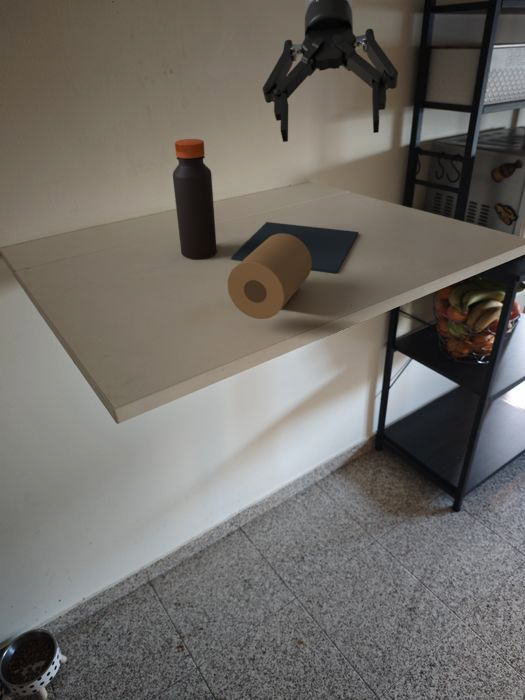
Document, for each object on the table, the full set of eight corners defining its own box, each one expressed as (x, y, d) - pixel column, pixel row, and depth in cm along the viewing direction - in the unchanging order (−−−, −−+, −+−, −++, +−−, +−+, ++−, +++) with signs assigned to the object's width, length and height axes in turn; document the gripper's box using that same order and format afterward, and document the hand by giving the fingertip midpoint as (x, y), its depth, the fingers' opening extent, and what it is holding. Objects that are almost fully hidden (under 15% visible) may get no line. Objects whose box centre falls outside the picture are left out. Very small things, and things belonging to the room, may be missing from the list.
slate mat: (358, 234, 102) (358, 231, 102) (336, 273, 87) (337, 271, 86) (266, 224, 108) (266, 221, 108) (231, 259, 92) (230, 257, 92)
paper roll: (258, 278, 85) (262, 227, 79) (308, 291, 82) (315, 240, 77) (226, 310, 76) (227, 255, 70) (281, 326, 73) (286, 270, 68)
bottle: (191, 263, 91) (179, 147, 80) (175, 251, 96) (162, 140, 85) (223, 254, 94) (216, 142, 83) (206, 243, 99) (198, 136, 88)
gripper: (246, 6, 78) (242, 123, 73) (412, -19, 73) (419, 104, 68) (256, 45, 85) (252, 154, 80) (407, 24, 80) (413, 139, 75)
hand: (329, 131), depth 74 cm, fingers open, 13 cm apart
